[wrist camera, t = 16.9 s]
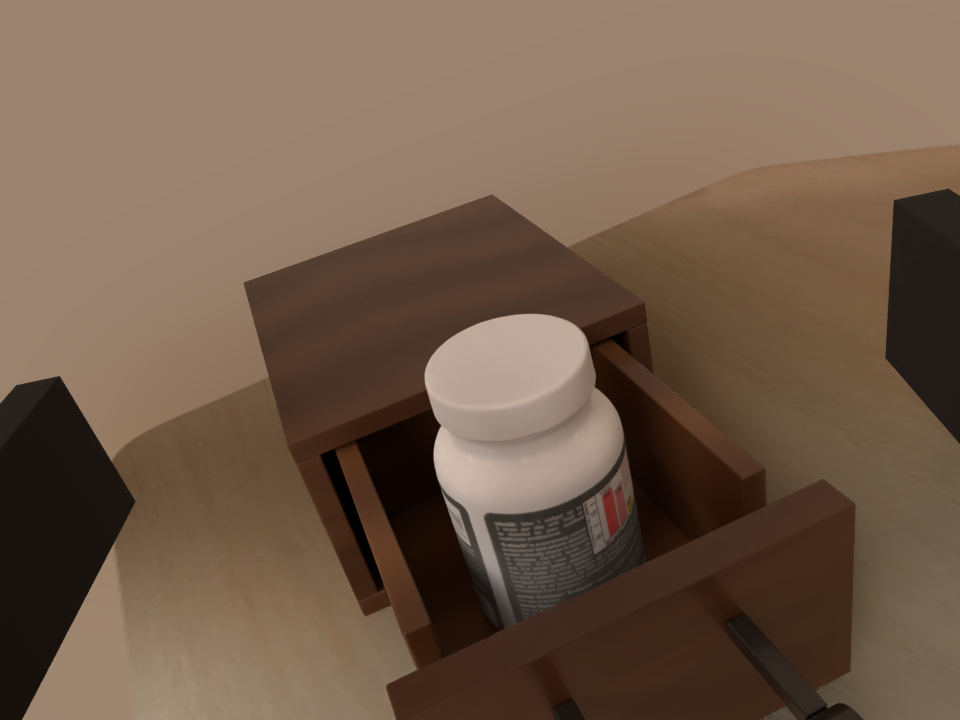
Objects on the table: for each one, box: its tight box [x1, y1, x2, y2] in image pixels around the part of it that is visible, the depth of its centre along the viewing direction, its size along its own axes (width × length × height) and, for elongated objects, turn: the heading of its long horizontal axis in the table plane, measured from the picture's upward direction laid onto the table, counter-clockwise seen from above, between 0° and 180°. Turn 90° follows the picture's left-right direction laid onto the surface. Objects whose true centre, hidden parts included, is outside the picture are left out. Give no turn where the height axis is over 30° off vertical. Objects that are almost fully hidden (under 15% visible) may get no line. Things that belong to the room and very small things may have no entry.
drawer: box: [335, 337, 863, 720], centre depth 25 cm, size 19×12×7 cm, turn 21°
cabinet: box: [244, 195, 654, 616], centre depth 37 cm, size 16×14×9 cm
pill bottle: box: [425, 314, 646, 634], centre depth 24 cm, size 6×6×10 cm
